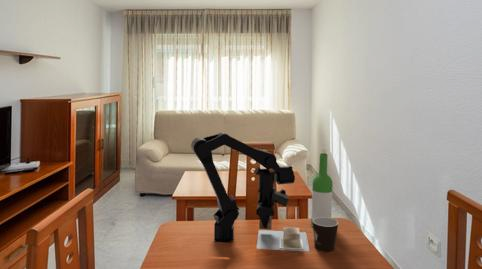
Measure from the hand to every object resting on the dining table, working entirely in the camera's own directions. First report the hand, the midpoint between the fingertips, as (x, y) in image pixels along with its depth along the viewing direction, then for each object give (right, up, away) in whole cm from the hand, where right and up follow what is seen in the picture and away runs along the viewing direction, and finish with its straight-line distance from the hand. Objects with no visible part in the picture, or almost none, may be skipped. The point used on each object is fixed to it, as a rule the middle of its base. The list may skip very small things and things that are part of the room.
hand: (265, 225), depth 134 cm
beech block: (+9, -4, -8) cm, 13 cm away
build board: (+6, -5, -5) cm, 9 cm away
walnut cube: (0, -1, 0) cm, 1 cm away
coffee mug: (+20, -6, -9) cm, 23 cm away
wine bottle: (+23, -3, +8) cm, 24 cm away
